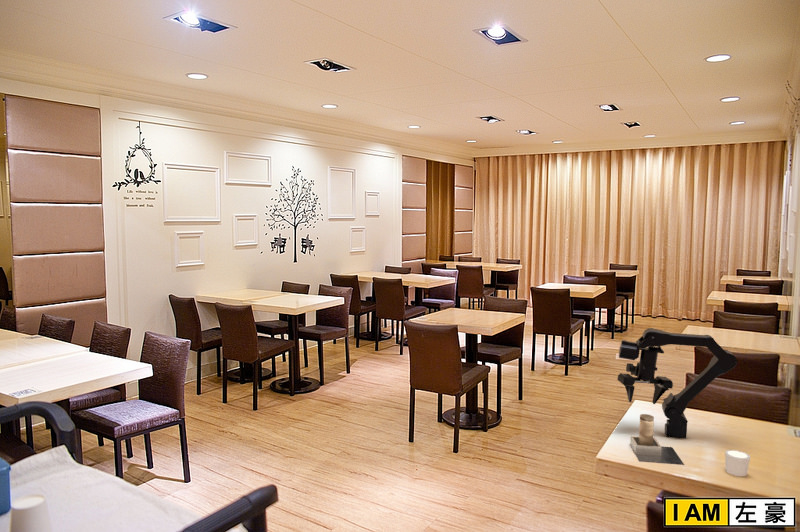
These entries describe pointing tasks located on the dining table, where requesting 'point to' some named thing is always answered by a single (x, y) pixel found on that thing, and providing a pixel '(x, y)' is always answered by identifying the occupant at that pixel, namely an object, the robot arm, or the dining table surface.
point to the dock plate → (654, 452)
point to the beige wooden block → (646, 430)
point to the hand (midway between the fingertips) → (641, 402)
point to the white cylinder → (737, 462)
